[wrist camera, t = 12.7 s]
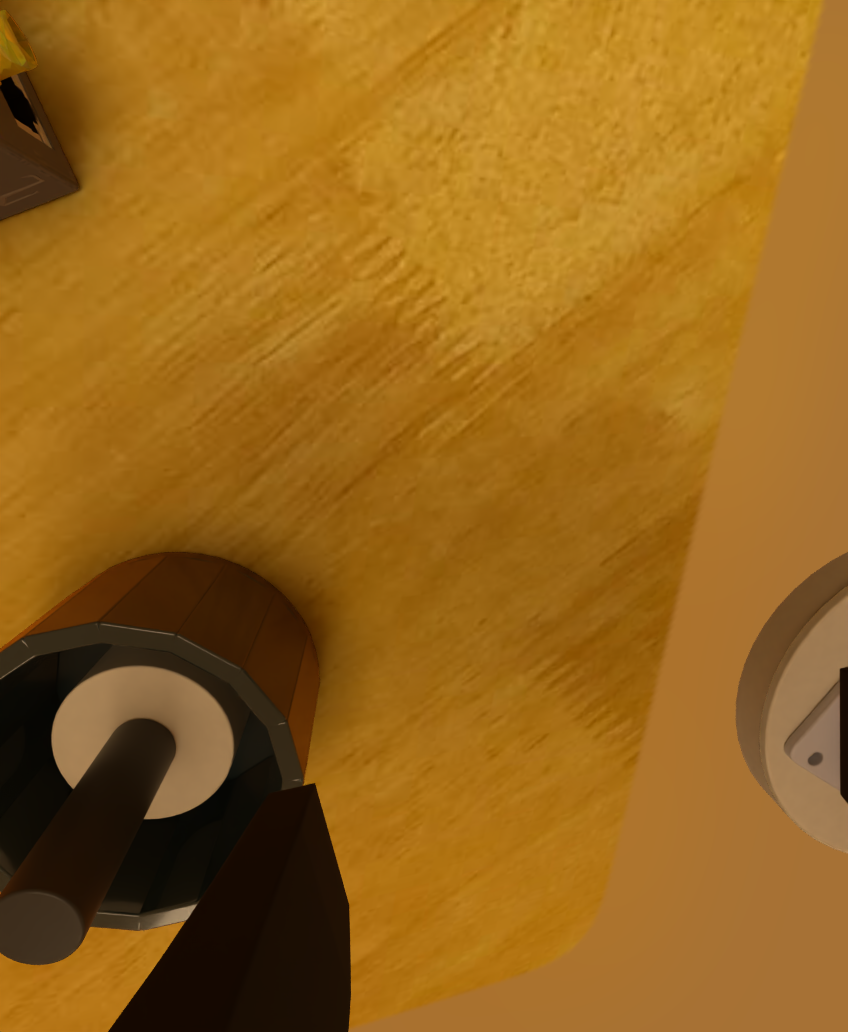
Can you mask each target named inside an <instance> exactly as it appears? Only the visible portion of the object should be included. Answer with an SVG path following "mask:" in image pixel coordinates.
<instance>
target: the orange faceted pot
mask: <svg viewBox="0 0 848 1032" xmlns="http://www.w3.org/2000/svg"><path fill="white" fill-rule="evenodd" d="M113 645H121V646H128V647H135V648H142V649H149V650H156V651H163V652H170V653H172V654H174V655H175V656H177V657H179V658H181V659H183V660H185V661H187V662H189V663H191V664H193V665H194V666H196V667H198V668H200V669H202V670H204V671H206V672H208V673H210V674H211V675H213V676H215V677H217V678H219V679H221V680H223V681H225V682H227V683H228V684H229V685H230V686H231V687H232V688H233V689H234V691H235V692H236V693H237V694H238V695H239V696H240V698H241V699H242V700H243V701H244V702H245V703H246V704H247V706H248V707H249V708H250V709H251V711H250V714H249V717H248V720H247V722H246V725H245V728H244V731H243V734H242V737H241V740H240V743H239V745H238V748H237V751H236V754H235V757H234V760H233V763H232V765H231V768H230V770H229V773H228V775H227V777H226V779H225V780H224V782H223V783H222V785H221V786H220V787H219V788H218V790H217V791H216V792H215V793H214V794H213V795H212V796H211V797H210V798H208V799H207V800H206V801H204V802H203V803H201V804H200V805H198V806H197V807H195V808H193V809H191V810H189V811H186V812H184V813H181V814H178V815H175V816H171V817H166V818H160V819H143V821H142V823H141V825H140V827H139V829H138V831H137V833H136V835H135V837H134V839H133V841H132V843H131V845H130V848H129V850H128V852H127V854H126V856H125V858H124V860H123V862H122V864H121V866H120V868H119V870H118V872H117V874H116V876H115V878H114V880H113V882H112V884H111V886H110V888H109V890H108V892H107V894H106V896H105V898H104V900H103V902H102V904H101V906H100V908H99V910H98V912H97V914H96V916H95V918H94V920H93V922H92V924H91V926H90V927H99V928H111V929H123V930H135V931H140V930H148V929H152V928H157V927H161V926H166V925H170V924H174V923H179V922H183V921H186V920H187V919H188V917H189V916H190V914H191V913H192V911H193V910H194V908H195V907H196V905H197V904H198V902H199V901H200V899H201V898H202V896H203V895H204V893H205V892H206V890H207V889H208V887H209V886H210V884H211V883H212V881H213V879H214V878H215V876H216V875H217V873H218V872H219V870H220V869H221V867H222V865H223V864H224V862H225V861H226V859H227V858H228V856H229V855H230V853H231V851H232V850H233V848H234V847H235V845H236V843H237V842H238V840H239V839H240V837H241V836H242V834H243V832H244V831H245V829H246V828H247V826H248V825H249V823H250V821H251V820H252V818H253V817H254V815H255V814H256V812H257V811H258V809H259V808H260V806H261V805H262V803H263V802H264V800H265V799H266V797H267V796H268V794H269V793H272V792H277V791H282V790H286V789H291V788H295V787H300V786H303V784H304V778H305V772H306V766H307V760H308V754H309V747H310V741H311V735H312V729H313V723H314V717H315V711H316V704H317V698H318V692H319V686H320V677H319V664H318V659H317V654H316V649H315V646H314V643H313V640H312V637H311V634H310V632H309V630H308V628H307V626H306V625H305V623H304V621H303V619H302V618H301V616H300V615H299V613H298V612H297V610H296V609H295V607H294V606H293V605H292V604H291V603H290V602H289V601H288V599H287V598H286V597H285V596H284V595H283V594H282V593H281V592H280V591H279V590H277V589H276V588H275V587H274V586H273V585H272V584H270V583H269V582H268V581H266V580H265V579H263V578H262V577H260V576H259V575H257V574H256V573H254V572H252V571H250V570H248V569H246V568H244V567H242V566H240V565H238V564H235V563H232V562H230V561H227V560H224V559H221V558H217V557H213V556H208V555H204V554H196V553H186V552H165V553H158V554H151V555H145V556H141V557H137V558H134V559H130V560H127V561H125V562H122V563H120V564H118V565H115V566H113V567H111V568H109V569H107V570H106V571H104V572H102V573H101V574H99V575H97V576H96V577H95V578H93V579H92V580H91V581H89V582H88V583H87V584H85V585H84V586H82V587H81V588H79V589H78V590H76V591H75V592H73V593H72V594H70V595H69V596H68V597H66V598H65V599H64V600H62V601H61V602H60V603H58V604H57V605H56V606H55V607H53V608H52V609H51V610H49V611H48V612H47V613H46V614H44V615H43V616H42V617H40V618H39V619H38V620H36V621H35V622H34V623H33V624H31V625H30V626H29V627H27V628H26V629H25V630H24V631H22V632H21V633H20V634H18V635H17V636H16V637H14V638H13V639H12V640H11V641H9V642H8V643H7V644H5V645H4V646H3V647H2V648H0V892H2V891H3V890H4V888H5V887H6V885H7V884H8V882H9V881H10V880H11V878H12V877H13V875H14V874H15V872H16V871H17V870H18V868H19V867H20V865H21V864H22V862H23V861H24V859H25V858H26V857H27V855H28V854H29V852H30V851H31V849H32V848H33V847H34V845H35V844H36V842H37V841H38V839H39V838H40V837H41V835H42V834H43V832H44V831H45V829H46V828H47V827H48V825H49V824H50V822H51V821H52V819H53V818H54V816H55V815H56V814H57V812H58V811H59V809H60V808H61V806H62V805H63V804H64V802H65V801H66V799H67V798H68V796H69V795H70V794H71V792H72V791H73V788H72V787H71V786H70V785H69V784H68V783H67V781H66V780H65V778H64V777H63V775H62V774H61V772H60V770H59V768H58V766H57V764H56V761H55V758H54V755H53V749H52V728H53V722H54V719H55V716H56V713H57V711H58V709H59V707H60V705H61V703H62V702H63V701H64V699H65V698H66V696H67V695H68V694H69V693H70V692H71V691H72V690H73V688H74V687H75V686H76V685H77V684H78V683H79V682H80V681H81V680H82V679H83V677H84V676H85V675H86V674H87V673H88V672H89V671H90V670H91V669H92V668H93V667H94V665H95V664H96V663H97V662H98V661H99V660H100V659H101V658H102V657H103V656H104V654H105V653H106V652H107V651H108V650H109V649H110V648H111V647H112V646H113Z"/></svg>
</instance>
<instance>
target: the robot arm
mask: <svg viewBox="0 0 848 1032" xmlns="http://www.w3.org/2000/svg"><path fill="white" fill-rule="evenodd" d="M784 750H785V754H786V755H787V756H788V757H789V758H790V759H791V760H792V761H794V762H795V763H796V764H798V765H799V766H801V767H802V768H804V769H806V770H807V771H809V772H810V773H812V774H813V775H815V776H817V777H818V778H820V779H821V780H823V781H824V782H826V783H828V784H829V785H831V786H832V787H834V788H835V789H837V790H839V791H840V795H841V796H842V797H843V798H844V800H845V801H846V802H847V803H848V667H845V668H840V681H839V682H838V683H837V684H836V685H835V686H834V687H833V689H832V690H831V691H830V692H829V693H828V694H827V695H826V697H825V698H824V699H823V700H822V701H821V702H820V703H819V705H818V706H817V707H816V708H815V709H814V710H813V711H812V712H811V714H810V715H809V716H808V717H807V718H806V719H805V720H804V722H803V723H802V724H801V725H800V726H799V727H798V728H797V730H796V731H795V732H794V733H793V734H792V735H791V736H790V738H789V739H788V740H787V742H786V743H785V748H784ZM813 753H814V754H813ZM811 754H813V755H812V756H811V757H810V755H811ZM350 1000H351V965H350V921H349V903H348V899H347V896H346V892H345V889H344V885H343V882H342V878H341V874H340V871H339V867H338V864H337V860H336V857H335V853H334V850H333V846H332V842H331V839H330V835H329V832H328V828H327V825H326V821H325V817H324V814H323V810H322V807H321V803H320V800H319V796H318V793H317V789H316V785H315V783H314V784H309V785H305V786H300V787H295V788H291V789H286V790H282V791H277V792H272V793H269V794H268V796H267V797H266V799H265V800H264V802H263V803H262V805H261V806H260V808H259V809H258V811H257V812H256V814H255V815H254V817H253V818H252V820H251V821H250V823H249V825H248V826H247V828H246V829H245V831H244V832H243V834H242V836H241V837H240V839H239V840H238V842H237V843H236V845H235V847H234V848H233V850H232V851H231V853H230V855H229V856H228V858H227V859H226V861H225V862H224V864H223V865H222V867H221V869H220V870H219V872H218V873H217V875H216V876H215V878H214V879H213V881H212V883H211V884H210V886H209V887H208V889H207V890H206V892H205V893H204V895H203V896H202V898H201V899H200V901H199V902H198V904H197V905H196V907H195V908H194V910H193V911H192V913H191V914H190V916H189V917H188V919H187V920H186V922H185V923H184V925H183V926H182V928H181V929H180V931H179V932H178V934H177V935H176V937H175V938H174V940H173V941H172V943H171V944H170V946H169V947H168V949H167V950H166V952H165V953H164V954H163V956H162V957H161V959H160V960H159V962H158V963H157V965H156V966H155V967H154V969H153V970H152V972H151V973H150V974H149V976H148V977H147V979H146V980H145V981H144V983H143V984H142V986H141V987H140V988H139V990H138V991H137V992H136V994H135V995H134V997H133V998H132V999H131V1001H130V1002H129V1003H128V1005H127V1006H126V1008H125V1009H124V1010H123V1012H122V1013H121V1015H120V1016H119V1017H118V1019H117V1020H116V1021H115V1023H114V1024H113V1026H112V1027H111V1028H110V1030H109V1031H108V1032H348V1029H349V1015H350Z"/></svg>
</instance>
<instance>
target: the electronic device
mask: <svg viewBox="0 0 848 1032" xmlns="http://www.w3.org/2000/svg"><path fill="white" fill-rule="evenodd" d="M37 66H38V65H37V59H36V56H35V54H34V52H33V50H32V48H31V46H30V44H29V42H28V40H27V38H26V37H25V35H24V34H23V32H22V31H21V29H20V28H19V26H18V25H17V24H16V22H15V21H14V19H13V18H12V17H11V16H10V14H9V13H8V12H7V11H6V10H5V9H4V10H0V220H2V219H4V218H7V217H9V216H12V215H14V214H17V213H20V212H22V211H25V210H27V209H30V208H33V207H35V206H38V205H40V204H43V203H45V202H48V201H51V200H53V199H56V198H58V197H61V196H64V195H66V194H69V193H71V192H74V191H76V190H78V188H79V186H78V183H77V180H76V178H75V176H74V174H73V172H72V170H71V168H70V166H69V164H68V161H67V159H66V157H65V155H64V153H63V151H62V149H61V147H60V144H59V142H58V140H57V138H56V136H55V134H54V132H53V130H52V128H51V125H50V123H49V121H48V119H47V117H46V115H45V113H44V111H43V108H42V106H41V104H40V102H39V100H38V98H37V96H36V94H35V92H34V89H33V87H32V85H31V83H30V81H29V79H28V77H27V75H26V72H25V71H29V70H32V69H34V68H35V67H37Z"/></svg>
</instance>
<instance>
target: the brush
mask: <svg viewBox="0 0 848 1032" xmlns="http://www.w3.org/2000/svg"><path fill="white" fill-rule="evenodd" d="M250 711H251V709H250V708H249V707H248V706H247V704H246V703H245V702H244V701H243V700H242V699H241V698H240V696H239V695H238V694H237V693H236V692H235V691H234V689H233V688H232V687H231V686H230V685H229V684H228V683H227V682H225V681H223V680H221V679H219V678H217V677H215V676H213V675H211V674H210V673H208V672H206V671H204V670H202V669H200V668H198V667H196V666H194V665H193V664H191V663H189V662H187V661H185V660H183V659H181V658H179V657H177V656H175V655H174V654H172V653H170V652H163V651H156V650H149V649H142V648H135V647H128V646H121V645H113V646H112V647H111V648H110V649H109V650H108V651H107V652H106V653H105V654H104V656H103V657H102V658H101V659H100V660H99V661H98V662H97V663H96V664H95V665H94V667H93V668H92V669H91V670H90V671H89V672H88V673H87V674H86V675H85V676H84V677H83V679H82V680H81V681H80V682H79V683H78V684H77V685H76V686H75V687H74V688H73V690H72V691H71V692H70V693H69V694H68V695H67V696H66V698H65V699H64V701H63V702H62V703H61V705H60V707H59V709H58V711H57V713H56V716H55V719H54V722H53V728H52V749H53V755H54V758H55V761H56V764H57V766H58V768H59V770H60V772H61V774H62V775H63V777H64V778H65V780H66V781H67V783H68V784H69V785H70V786H71V787H72V788H73V791H72V792H71V794H70V795H69V796H68V798H67V799H66V801H65V802H64V804H63V805H62V806H61V808H60V809H59V811H58V812H57V814H56V815H55V816H54V818H53V819H52V821H51V822H50V824H49V825H48V827H47V828H46V829H45V831H44V832H43V834H42V835H41V837H40V838H39V839H38V841H37V842H36V844H35V845H34V847H33V848H32V849H31V851H30V852H29V854H28V855H27V857H26V858H25V859H24V861H23V862H22V864H21V865H20V867H19V868H18V870H17V871H16V872H15V874H14V875H13V877H12V878H11V880H10V881H9V882H8V884H7V885H6V887H5V888H4V890H3V891H2V892H1V894H0V953H2V954H3V955H4V956H6V957H8V958H10V959H12V960H14V961H17V962H20V963H25V964H31V965H44V964H50V963H54V962H58V961H60V960H63V959H64V958H66V957H68V956H69V955H71V954H72V953H73V952H74V951H75V950H76V949H77V948H78V947H79V946H80V945H81V943H82V941H83V940H84V938H85V936H86V934H87V932H88V930H89V928H90V926H91V924H92V922H93V920H94V918H95V916H96V914H97V912H98V910H99V908H100V906H101V904H102V902H103V900H104V898H105V896H106V894H107V892H108V890H109V888H110V886H111V884H112V882H113V880H114V878H115V876H116V874H117V872H118V870H119V868H120V866H121V864H122V862H123V860H124V858H125V856H126V854H127V852H128V850H129V848H130V845H131V843H132V841H133V839H134V837H135V835H136V833H137V831H138V829H139V827H140V825H141V823H142V821H143V819H160V818H166V817H171V816H175V815H178V814H181V813H184V812H186V811H189V810H191V809H193V808H195V807H197V806H198V805H200V804H201V803H203V802H204V801H206V800H207V799H208V798H210V797H211V796H212V795H213V794H214V793H215V792H216V791H217V790H218V788H219V787H220V786H221V785H222V783H223V782H224V780H225V779H226V777H227V775H228V773H229V770H230V768H231V765H232V763H233V760H234V757H235V754H236V751H237V748H238V745H239V743H240V740H241V737H242V734H243V731H244V728H245V725H246V722H247V720H248V717H249V714H250Z"/></svg>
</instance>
